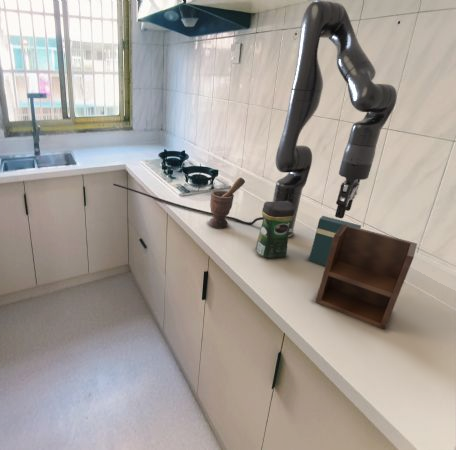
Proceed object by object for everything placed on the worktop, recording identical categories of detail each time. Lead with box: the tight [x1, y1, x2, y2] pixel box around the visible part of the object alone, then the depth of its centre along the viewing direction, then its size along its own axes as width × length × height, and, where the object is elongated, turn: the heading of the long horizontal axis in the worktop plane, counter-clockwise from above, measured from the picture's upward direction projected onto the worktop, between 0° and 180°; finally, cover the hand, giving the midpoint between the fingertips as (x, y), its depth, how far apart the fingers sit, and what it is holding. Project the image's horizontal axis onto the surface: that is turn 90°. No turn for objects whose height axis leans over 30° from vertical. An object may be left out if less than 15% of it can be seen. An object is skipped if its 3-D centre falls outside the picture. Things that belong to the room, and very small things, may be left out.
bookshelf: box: [315, 224, 418, 331], centre depth 85 cm, size 16×9×20 cm, turn 50°
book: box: [308, 215, 362, 267], centre depth 106 cm, size 11×4×15 cm, turn 50°
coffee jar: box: [255, 201, 295, 259], centre depth 111 cm, size 10×8×19 cm
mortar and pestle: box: [208, 177, 246, 229], centre depth 131 cm, size 12×9×20 cm
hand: (342, 213), depth 102 cm, fingers open, 8 cm apart
